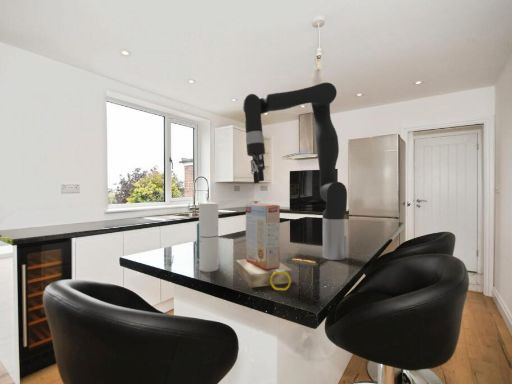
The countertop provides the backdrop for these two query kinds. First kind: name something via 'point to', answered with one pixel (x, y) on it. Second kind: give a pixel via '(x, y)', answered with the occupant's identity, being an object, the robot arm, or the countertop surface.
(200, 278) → the countertop surface
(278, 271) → the yellow ring
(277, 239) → the cracker box
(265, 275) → the oak plinth
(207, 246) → the cylindrical container
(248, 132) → the robot arm
